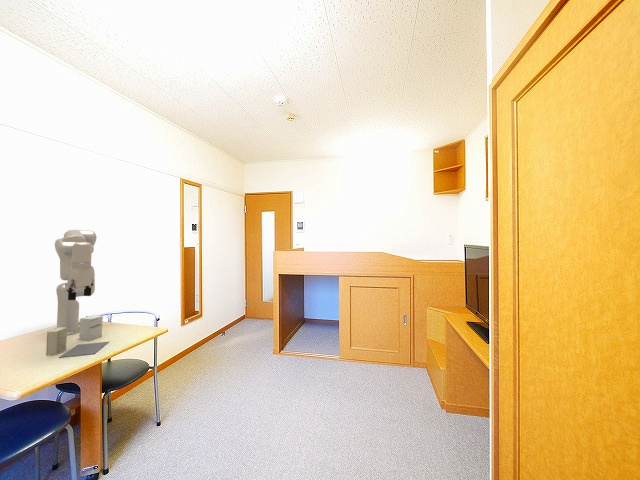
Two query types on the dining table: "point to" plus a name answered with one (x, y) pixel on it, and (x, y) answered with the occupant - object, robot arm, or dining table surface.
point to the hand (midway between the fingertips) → (79, 297)
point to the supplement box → (90, 327)
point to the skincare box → (56, 341)
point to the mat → (84, 349)
